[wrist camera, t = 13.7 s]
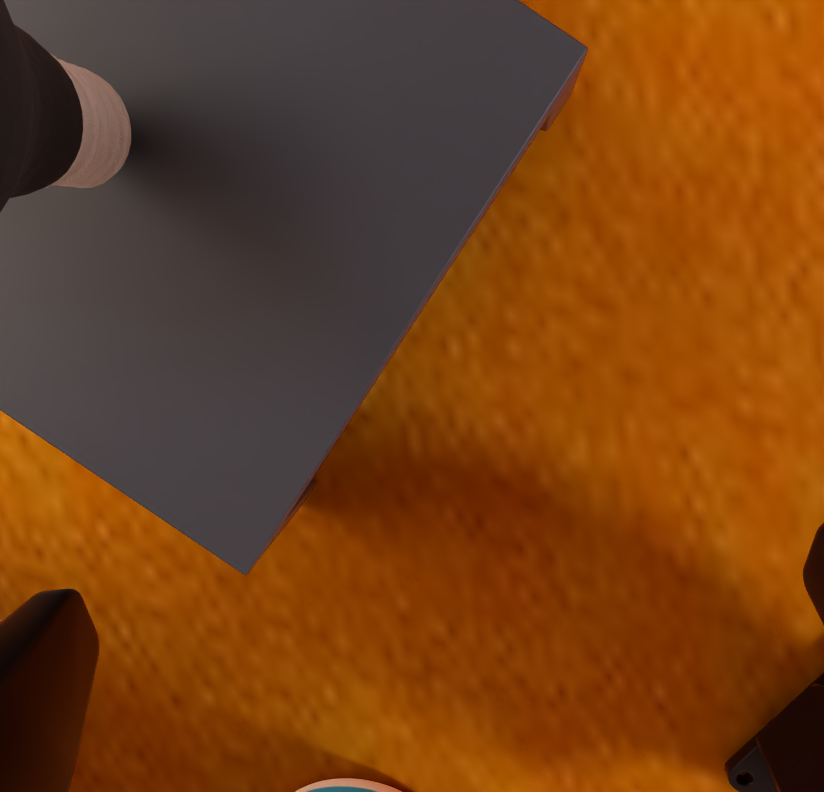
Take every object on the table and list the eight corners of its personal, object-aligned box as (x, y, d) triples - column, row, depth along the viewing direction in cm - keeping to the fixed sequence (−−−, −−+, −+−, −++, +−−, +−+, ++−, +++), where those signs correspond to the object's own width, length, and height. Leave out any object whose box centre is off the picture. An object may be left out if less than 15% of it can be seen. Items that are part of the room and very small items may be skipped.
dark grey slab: (573, 91, 17) (589, 47, 13) (300, 507, 22) (245, 576, 18) (199, -162, 17) (92, -290, 13) (2, 306, 22) (-126, 326, 18)
